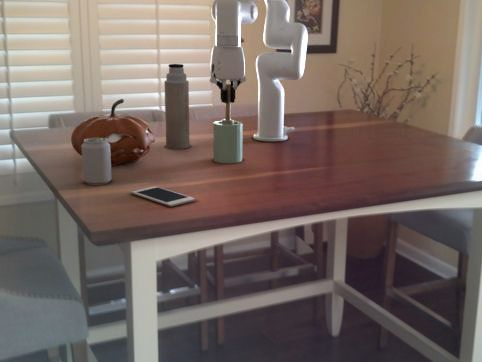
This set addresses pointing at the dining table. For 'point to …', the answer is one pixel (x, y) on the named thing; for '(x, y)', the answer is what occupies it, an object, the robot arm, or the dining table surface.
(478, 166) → the dining table surface
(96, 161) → the can
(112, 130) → the pumpkin
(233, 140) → the sage green cup
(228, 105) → the brush
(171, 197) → the cell phone
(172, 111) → the thermos bottle
